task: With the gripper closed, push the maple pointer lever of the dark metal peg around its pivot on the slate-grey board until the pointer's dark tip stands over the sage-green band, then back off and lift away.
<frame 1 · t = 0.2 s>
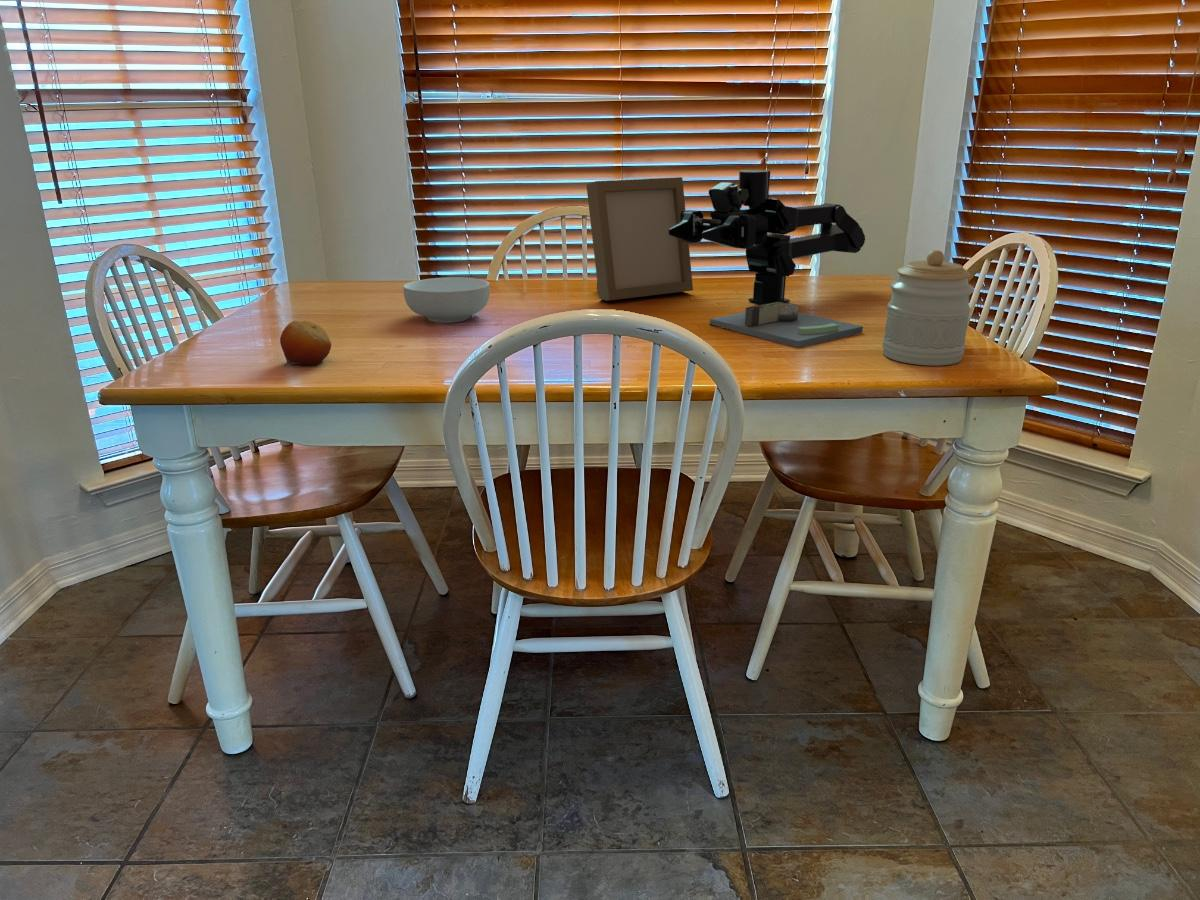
hand: (685, 233, 166), 17 cm above the table, tool horizontal, fingers open, 9 cm apart
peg: (771, 312, 163), point 3 cm above the table, hinge at 0.0°
photo frame: (634, 294, 195), on the table
fruit: (308, 364, 143), on the table
board: (784, 328, 164), on the table
jar: (921, 357, 145), on the table
cereal bowl: (448, 319, 173), on the table
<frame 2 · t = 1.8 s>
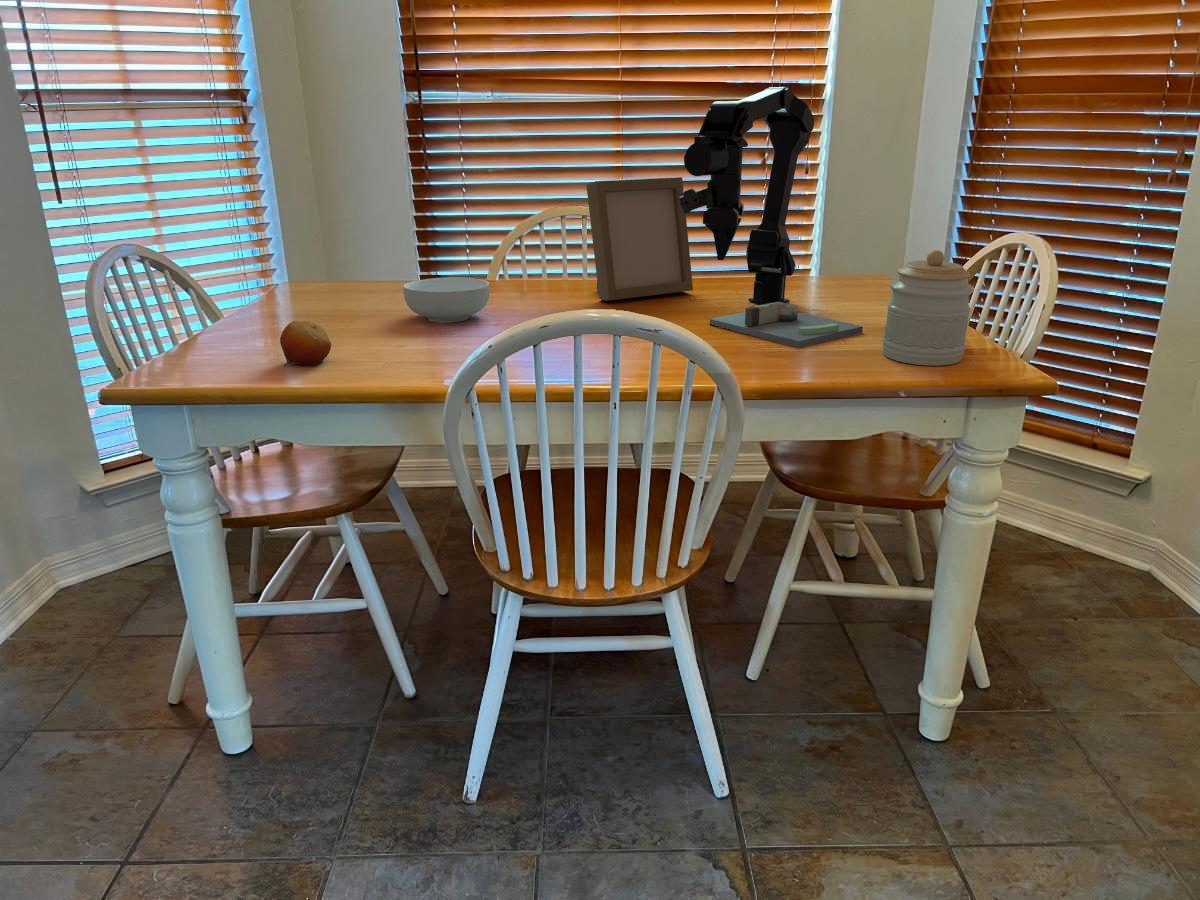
hand: (721, 257, 167), 12 cm above the table, tool pointing down, fingers open, 5 cm apart
nothing on the table moved.
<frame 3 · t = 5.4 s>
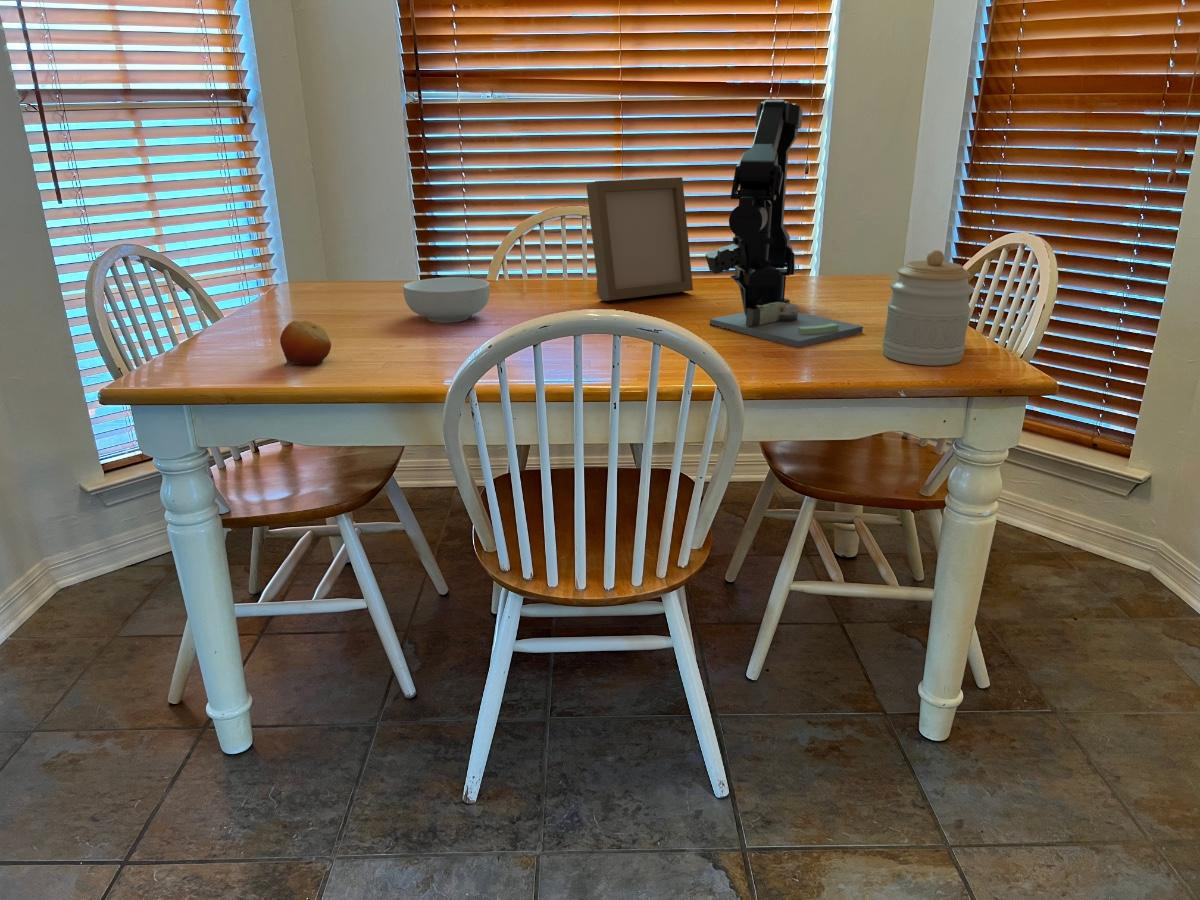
hand: (748, 315, 163), 3 cm above the table, tool pointing down, fingers closed
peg: (771, 312, 163), point 3 cm above the table, hinge at 1.4°, touching gripper
everything else where it was.
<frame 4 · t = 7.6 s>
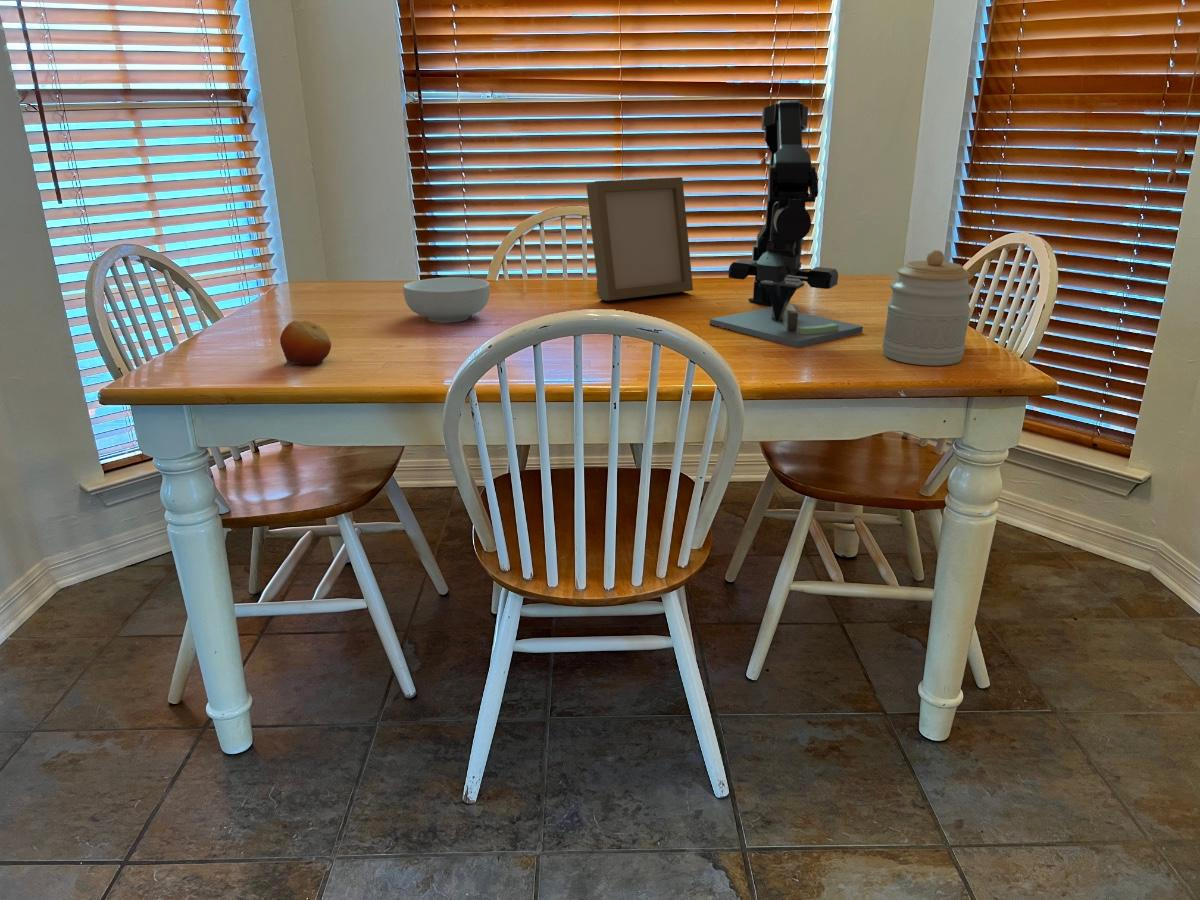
hand: (778, 320, 158), 3 cm above the table, tool pointing down, fingers closed
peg: (787, 314, 162), point 3 cm above the table, hinge at 49.4°, touching gripper
everything else where it was.
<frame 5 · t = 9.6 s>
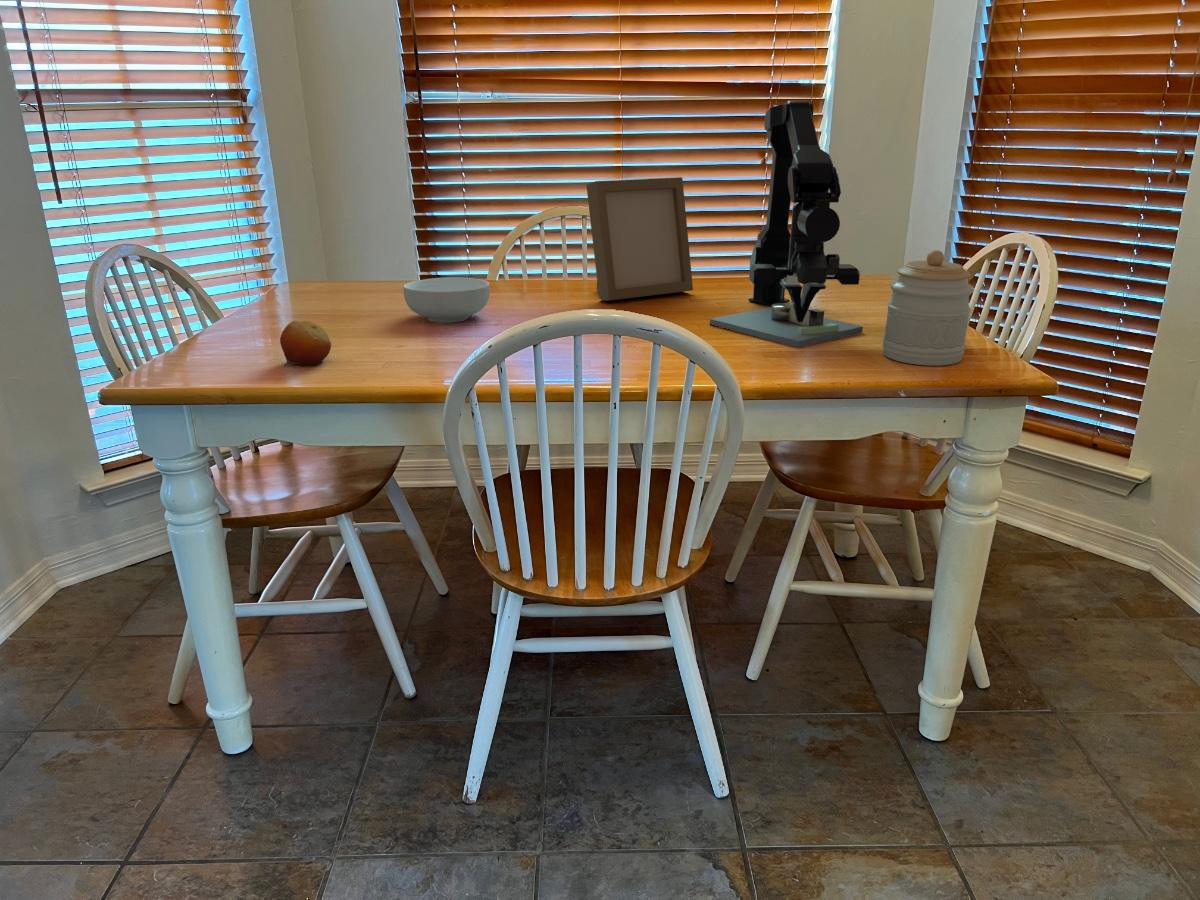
hand: (799, 321, 158), 3 cm above the table, tool pointing down, fingers closed
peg: (797, 313, 162), point 3 cm above the table, hinge at 80.3°
everything else where it was.
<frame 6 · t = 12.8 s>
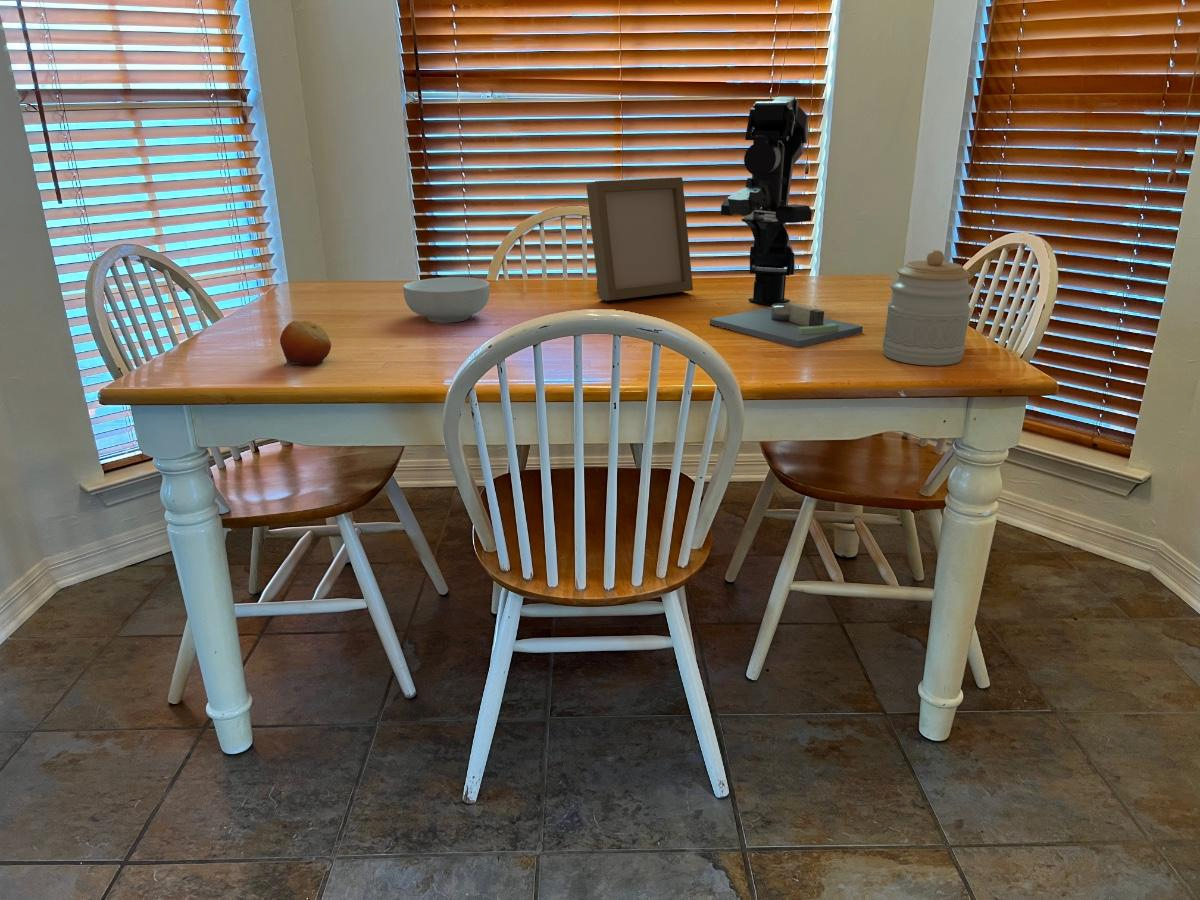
hand: (762, 255, 169), 12 cm above the table, tool pointing down, fingers closed
nothing on the table moved.
at the end: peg at +80° (first picture: +0°); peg touching nothing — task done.
